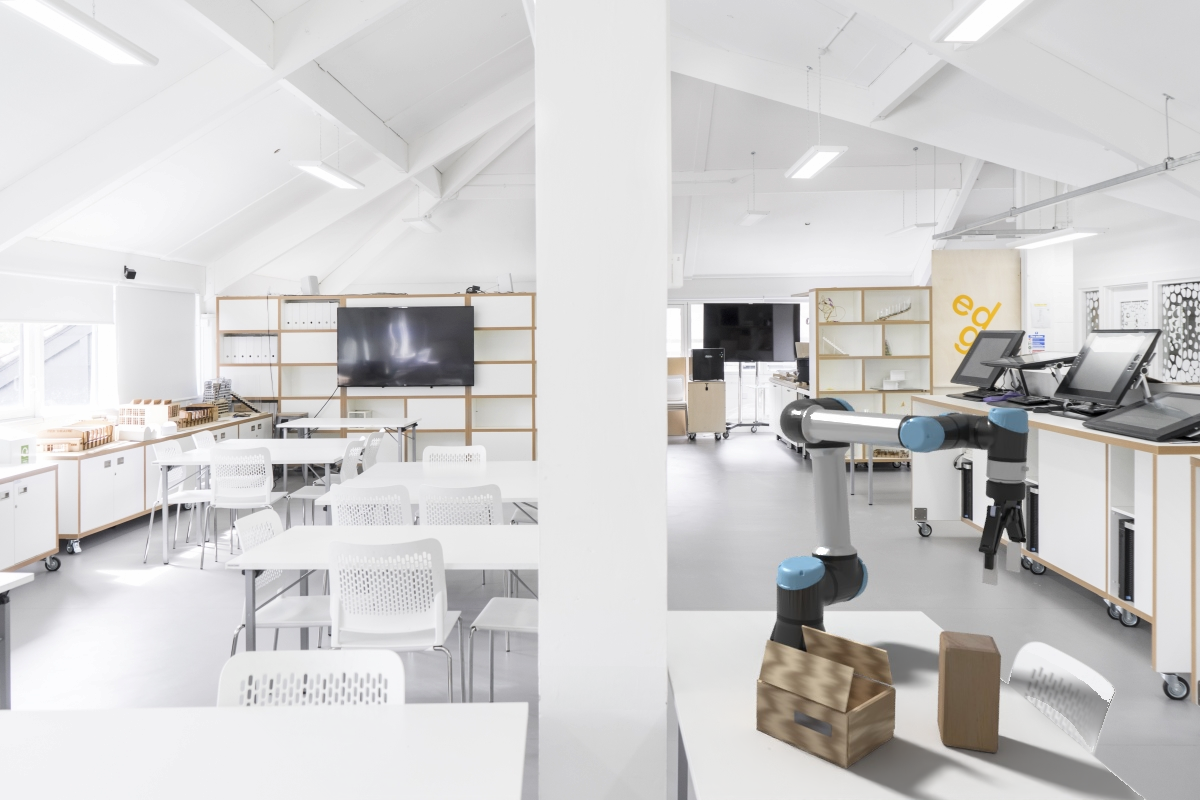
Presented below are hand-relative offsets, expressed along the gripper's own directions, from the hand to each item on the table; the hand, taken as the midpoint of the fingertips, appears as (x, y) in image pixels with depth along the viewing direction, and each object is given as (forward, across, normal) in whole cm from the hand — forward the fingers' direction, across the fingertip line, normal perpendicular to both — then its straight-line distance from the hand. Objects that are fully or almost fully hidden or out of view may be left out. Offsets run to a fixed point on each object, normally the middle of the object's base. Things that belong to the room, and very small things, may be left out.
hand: (1001, 577), depth 166 cm
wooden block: (+28, -21, -2) cm, 35 cm away
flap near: (+18, -48, +19) cm, 55 cm away
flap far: (+18, -30, +19) cm, 40 cm away
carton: (+28, -39, +19) cm, 52 cm away
